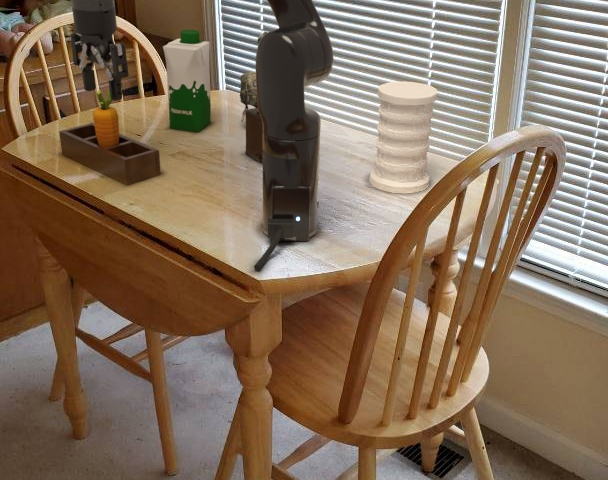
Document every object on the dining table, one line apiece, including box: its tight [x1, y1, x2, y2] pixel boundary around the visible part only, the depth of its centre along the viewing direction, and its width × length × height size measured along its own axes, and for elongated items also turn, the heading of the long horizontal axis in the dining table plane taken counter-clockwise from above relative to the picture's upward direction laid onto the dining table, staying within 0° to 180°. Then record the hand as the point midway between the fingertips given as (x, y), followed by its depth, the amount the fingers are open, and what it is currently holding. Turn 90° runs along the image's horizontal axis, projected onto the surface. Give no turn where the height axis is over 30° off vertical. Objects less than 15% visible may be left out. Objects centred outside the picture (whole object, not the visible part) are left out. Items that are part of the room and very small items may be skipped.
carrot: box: [92, 89, 120, 148], centre depth 157 cm, size 5×5×15 cm
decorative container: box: [369, 81, 438, 194], centre depth 153 cm, size 12×12×18 cm
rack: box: [58, 122, 162, 186], centre depth 160 cm, size 8×22×5 cm, turn 47°
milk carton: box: [162, 29, 212, 133], centre depth 177 cm, size 9×9×20 cm
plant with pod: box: [239, 31, 268, 123], centre depth 179 cm, size 8×11×20 cm
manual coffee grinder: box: [244, 107, 263, 164], centre depth 161 cm, size 16×11×18 cm
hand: (103, 95), depth 154 cm, fingers open, 8 cm apart
